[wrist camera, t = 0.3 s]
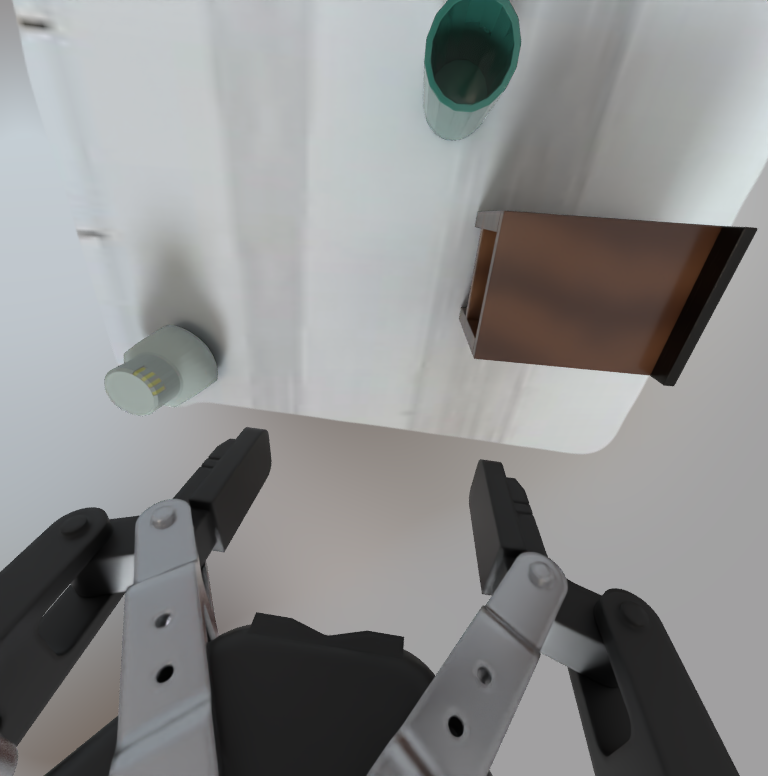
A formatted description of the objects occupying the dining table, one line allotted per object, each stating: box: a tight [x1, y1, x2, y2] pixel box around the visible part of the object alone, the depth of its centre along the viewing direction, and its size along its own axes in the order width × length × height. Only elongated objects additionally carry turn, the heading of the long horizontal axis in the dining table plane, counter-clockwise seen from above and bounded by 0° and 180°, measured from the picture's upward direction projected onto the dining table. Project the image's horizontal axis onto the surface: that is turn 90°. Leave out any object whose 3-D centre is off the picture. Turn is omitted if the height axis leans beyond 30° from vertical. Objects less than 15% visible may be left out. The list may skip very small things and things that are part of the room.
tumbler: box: [423, 0, 521, 140], centre depth 25 cm, size 6×6×10 cm
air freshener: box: [104, 325, 218, 416], centre depth 40 cm, size 11×8×10 cm
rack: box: [459, 211, 757, 386], centre depth 30 cm, size 11×15×14 cm
